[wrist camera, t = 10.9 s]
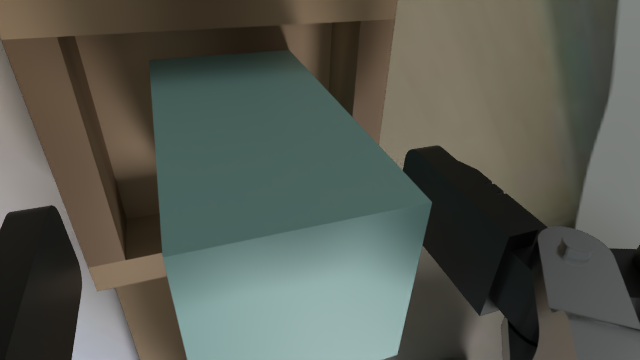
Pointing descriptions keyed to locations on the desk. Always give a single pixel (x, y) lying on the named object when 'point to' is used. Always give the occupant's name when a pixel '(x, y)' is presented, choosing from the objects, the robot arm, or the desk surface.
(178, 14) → the wooden tray with block
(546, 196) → the desk surface
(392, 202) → the teal rectangular prism
